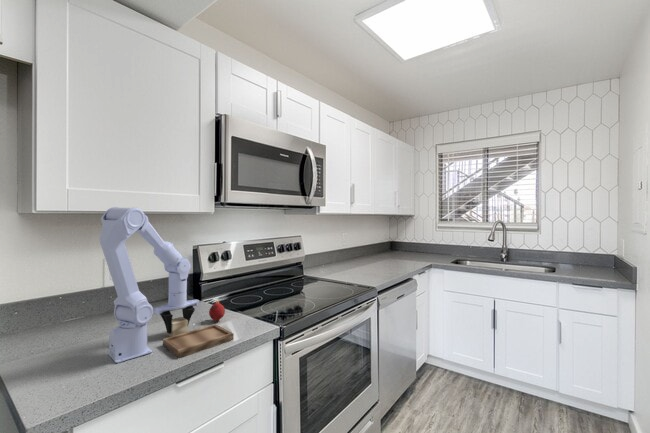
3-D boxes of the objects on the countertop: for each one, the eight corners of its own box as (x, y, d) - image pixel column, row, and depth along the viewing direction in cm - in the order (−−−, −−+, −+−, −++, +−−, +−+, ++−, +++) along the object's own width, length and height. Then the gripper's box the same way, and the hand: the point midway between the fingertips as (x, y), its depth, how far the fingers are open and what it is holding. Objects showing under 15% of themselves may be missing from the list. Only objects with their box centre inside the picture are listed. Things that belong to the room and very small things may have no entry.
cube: (172, 338, 104) (173, 323, 104) (166, 334, 107) (167, 320, 107) (187, 334, 108) (187, 320, 108) (181, 330, 111) (181, 316, 111)
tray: (178, 358, 90) (179, 350, 90) (162, 345, 98) (162, 338, 98) (233, 339, 104) (233, 333, 104) (215, 330, 112) (215, 324, 112)
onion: (219, 324, 117) (219, 303, 117) (206, 323, 119) (206, 302, 118) (227, 319, 123) (227, 299, 123) (214, 318, 124) (214, 298, 124)
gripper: (192, 285, 115) (192, 322, 116) (150, 293, 105) (150, 332, 105) (202, 289, 111) (201, 326, 111) (158, 297, 100) (158, 338, 100)
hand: (177, 330), depth 108 cm, fingers closed on cube, 5 cm apart
